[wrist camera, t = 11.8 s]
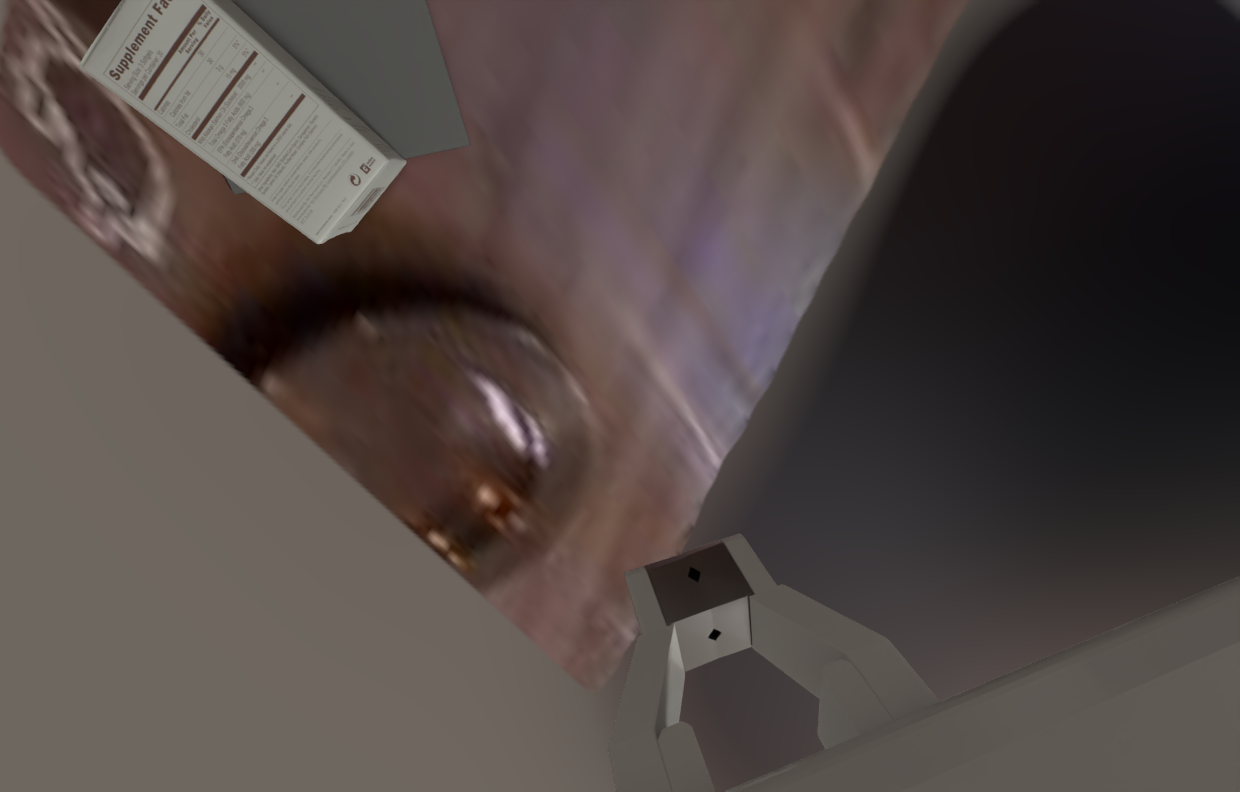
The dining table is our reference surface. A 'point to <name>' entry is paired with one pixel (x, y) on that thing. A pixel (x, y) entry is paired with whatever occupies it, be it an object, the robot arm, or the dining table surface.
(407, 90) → the mat
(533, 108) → the dining table surface
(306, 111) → the supplement box
